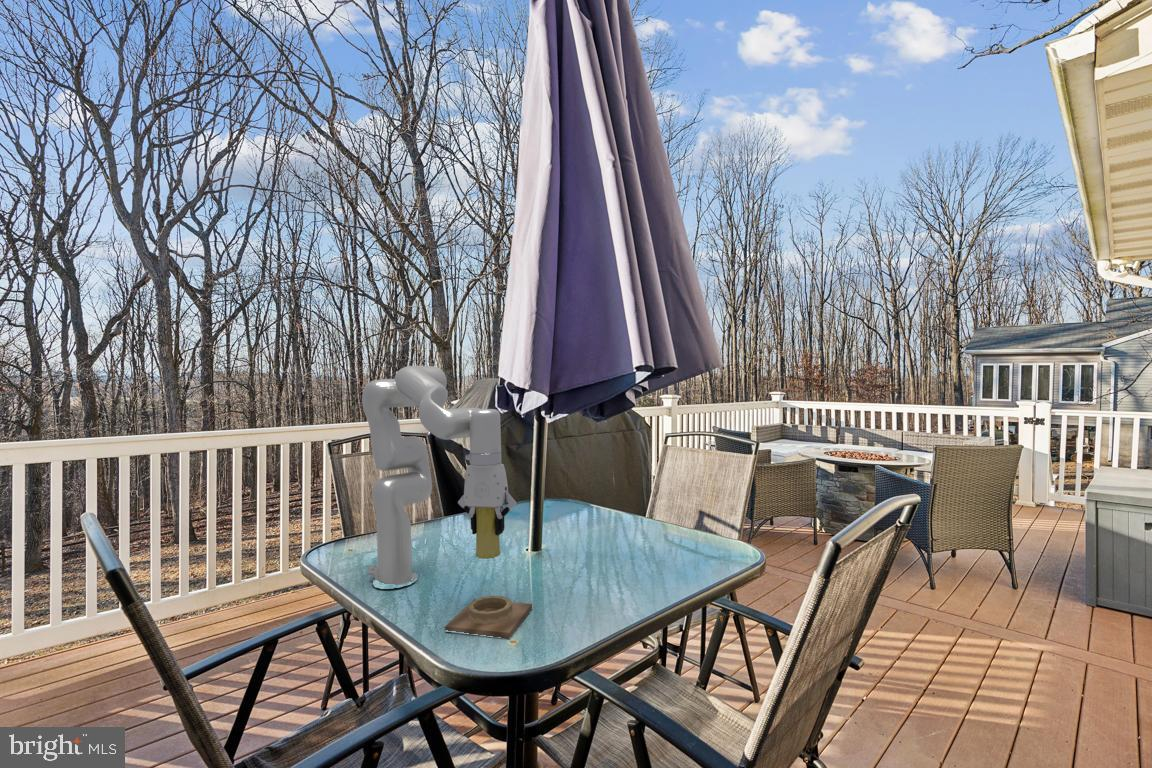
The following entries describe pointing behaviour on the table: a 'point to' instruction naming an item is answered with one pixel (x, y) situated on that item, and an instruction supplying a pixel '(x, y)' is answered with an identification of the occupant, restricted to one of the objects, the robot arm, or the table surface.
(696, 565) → the table surface
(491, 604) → the stand
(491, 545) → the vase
